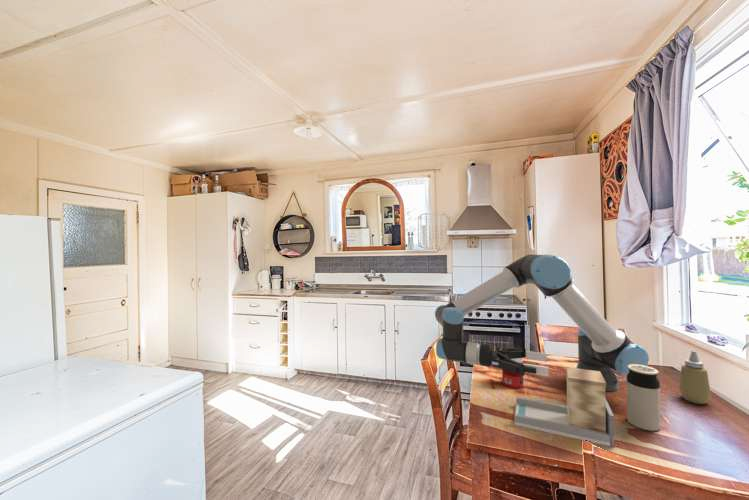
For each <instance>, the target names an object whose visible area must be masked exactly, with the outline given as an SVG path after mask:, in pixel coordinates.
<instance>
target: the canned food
mask: <svg viewBox="0 0 749 500" xmlns="http://www.w3.org/2000/svg"><path fill="white" fill-rule="evenodd" d="M512 360H514V361H516V362H519V363H521V364H523V365H524V359H523V358H516V359H512ZM501 370H502V373H501V377H502V384H503V385H504V386H506V387H508V388H509V389H510V388H511V389H521V388H523V386H524V376H522V375H518V374H515V373H513V372H510V371H507V370H504V369H501Z"/></svg>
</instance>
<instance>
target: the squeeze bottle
mask: <svg viewBox="0 0 749 500" xmlns="http://www.w3.org/2000/svg"><path fill="white" fill-rule="evenodd" d="M680 369H681V370H680V376H679V384H678V388H679V391H680V393H681V396H682V398H683V399H684V400H686V401H688V402H690V403H694V404H700V405H705V404H707V402H708V401H709V398H710V397H711V388H710V387H711V385H710V381H709V373H708V371H707V369H705V368H704V363H703V361H700V359H699V356H698V352H697V351H695V350H691V352H690V356H689V359H684V364H683V365H681V368H680Z"/></svg>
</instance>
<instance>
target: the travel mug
mask: <svg viewBox="0 0 749 500" xmlns="http://www.w3.org/2000/svg"><path fill="white" fill-rule="evenodd" d="M627 367H628V368H629V373H628V374H627V375H626V417H627V418H626V419H627V422H628V423H629V424H631V425H632V426H635V427H636V428H639V429H641V430H645V431H650V432H651V431H655V432H656V431H660V430H661V390H660V389H661V381H660V380H659V379H658V374H659V370H657V369H656V368H654V367H651V366H649V365H648V366H645V365H638V364H630V365H628V366H627Z"/></svg>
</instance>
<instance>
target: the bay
mask: <svg viewBox="0 0 749 500" xmlns="http://www.w3.org/2000/svg"><path fill="white" fill-rule="evenodd" d="M515 397H516V398H515V401H516V402H515V412H514V416H513V420H514V421H513V422H514V426H518V427H521V428H525V429H526V428H527V429H531V430H536V431H541V432H545V433H549V434H554V435H558V436H562V437H567V438H572V439H575V440H580V441H584V440H588V441H591V442H590V443H594V444H598V445H603V446H607V447H611V448H615V415H614V413H613V410H612V409H611V407H610V405H609V402H608V400H607V398H606V397H605V401H606V433H603V432H598V431H594V430H589V429H584V428H580V427H575V426H570V425H569V422H568V417H567V405H564V404H558V403H552V402H547V401H544V400H543V401H542V400H537V399H531V398H526V397H522V396H515ZM588 441H587V442H588Z"/></svg>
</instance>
